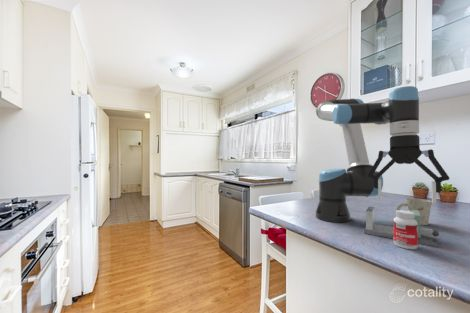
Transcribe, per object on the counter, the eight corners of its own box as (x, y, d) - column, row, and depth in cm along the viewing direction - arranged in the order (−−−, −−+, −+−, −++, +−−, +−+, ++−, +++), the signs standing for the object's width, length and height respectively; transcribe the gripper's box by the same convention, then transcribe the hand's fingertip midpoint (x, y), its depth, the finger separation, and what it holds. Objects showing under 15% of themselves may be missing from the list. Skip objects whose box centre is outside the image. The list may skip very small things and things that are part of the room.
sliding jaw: (412, 236, 71) (412, 214, 72) (411, 229, 79) (411, 209, 79) (440, 241, 67) (440, 218, 67) (437, 233, 74) (436, 212, 74)
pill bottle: (392, 246, 68) (392, 212, 68) (394, 240, 73) (393, 208, 73) (418, 251, 64) (417, 215, 64) (417, 245, 69) (417, 211, 69)
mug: (436, 226, 87) (436, 202, 87) (402, 224, 90) (402, 201, 90) (423, 220, 95) (423, 198, 95) (392, 219, 98) (391, 197, 98)
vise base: (364, 233, 80) (364, 211, 80) (367, 226, 88) (367, 206, 88) (437, 246, 67) (436, 220, 67) (433, 237, 75) (433, 213, 75)
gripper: (358, 137, 73) (359, 198, 73) (462, 130, 58) (464, 207, 58) (361, 138, 79) (362, 195, 79) (456, 133, 64) (458, 203, 63)
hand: (405, 200), depth 68 cm, fingers open, 13 cm apart
